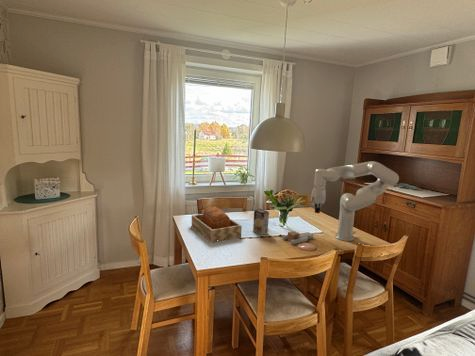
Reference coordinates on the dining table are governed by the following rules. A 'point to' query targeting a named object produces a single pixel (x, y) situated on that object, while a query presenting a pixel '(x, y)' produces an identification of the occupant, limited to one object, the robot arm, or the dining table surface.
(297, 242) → the channel
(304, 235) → the push bar
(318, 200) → the robot arm
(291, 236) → the walnut block
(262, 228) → the coffee box
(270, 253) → the dining table surface
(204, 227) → the bread crate
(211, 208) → the bread
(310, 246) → the coaster
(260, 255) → the dining table surface
